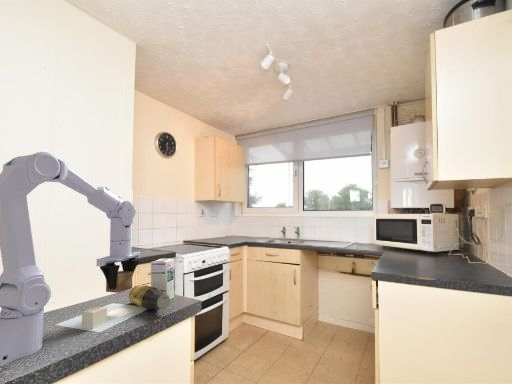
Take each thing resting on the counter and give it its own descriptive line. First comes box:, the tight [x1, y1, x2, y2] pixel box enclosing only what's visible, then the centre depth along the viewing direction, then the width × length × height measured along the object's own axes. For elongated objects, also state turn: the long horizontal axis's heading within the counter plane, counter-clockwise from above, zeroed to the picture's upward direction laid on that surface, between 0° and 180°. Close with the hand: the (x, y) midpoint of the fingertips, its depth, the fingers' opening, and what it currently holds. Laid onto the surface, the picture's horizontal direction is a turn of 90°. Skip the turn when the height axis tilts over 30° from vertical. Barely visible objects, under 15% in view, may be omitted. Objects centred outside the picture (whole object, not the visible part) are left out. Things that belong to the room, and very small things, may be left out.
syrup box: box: [150, 257, 176, 303], centre depth 89 cm, size 6×6×14 cm
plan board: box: [55, 302, 149, 333], centre depth 76 cm, size 18×16×1 cm
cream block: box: [81, 305, 107, 329], centre depth 70 cm, size 4×4×4 cm
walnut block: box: [105, 270, 133, 294], centre depth 80 cm, size 5×5×5 cm
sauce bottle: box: [128, 284, 171, 310], centre depth 83 cm, size 7×6×20 cm
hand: (119, 286), depth 80 cm, fingers closed on walnut block, 5 cm apart
